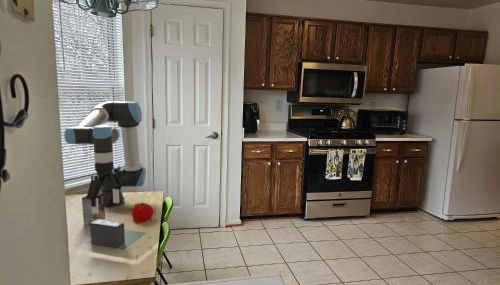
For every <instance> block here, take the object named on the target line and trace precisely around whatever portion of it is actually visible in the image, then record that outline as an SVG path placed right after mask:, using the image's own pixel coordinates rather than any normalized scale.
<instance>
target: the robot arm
mask: <svg viewBox="0 0 500 285" xmlns="http://www.w3.org/2000/svg"><path fill="white" fill-rule="evenodd" d="M142 115H143V114H142V109H141V106H140V104H139V103H138V102H136V101H111V100H110V101H105V102H102V103H99V104H97V105H96V106H94V107H93V108H92V109H91V110H90V112H89V115H88V116H86V117H85V118H84V119H83V120H82V121H81V122H80V123H79V124H78V125H77V126H76V127H75V126H71V127H66V129H65V130H64V136H63V137H64V141H65V143H66V144H69V145H93V153H94V154H93V155H94V156H93V157H94V171H95V172H96V175H93V174H92V175H91V176H90V183H89V187H88V191H87V194H86V196H87V197H86V198H87V199H91V207H92V213H94V214H99V207H98V199H96V198H97V196H98V194H99V193H104V208H112V207H118V206H121V205H122V204H124V203H125V197H124V194H123V192H122V188H124V187H125V188H126V187H127V188H128V187H129V188H130V187H133V188H134V187H135V188H137V187H143V185H145V181H146V180H145V179H146V175H147V169H146V167H144V166H143V164H142V163H141V162H140V161H141V160H140V149H139V148H140V147H139V139H138V138H139V136H138V127H139V126H140V123H141V122H142V120H143V116H142ZM106 123H117V126H118V127H119V128H120V129H121V130H120V131H121V138H122V139H121V140H122V150H123V158H124V164H123V165H122V167H121V166H120V165H119V164H114V148H113V147H114V144H115V143H116V142H118V140H119V138H120V131H119V130H118V129H117V127H114V126H110V125H107V124H106ZM104 124H106V125H104Z"/></svg>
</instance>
